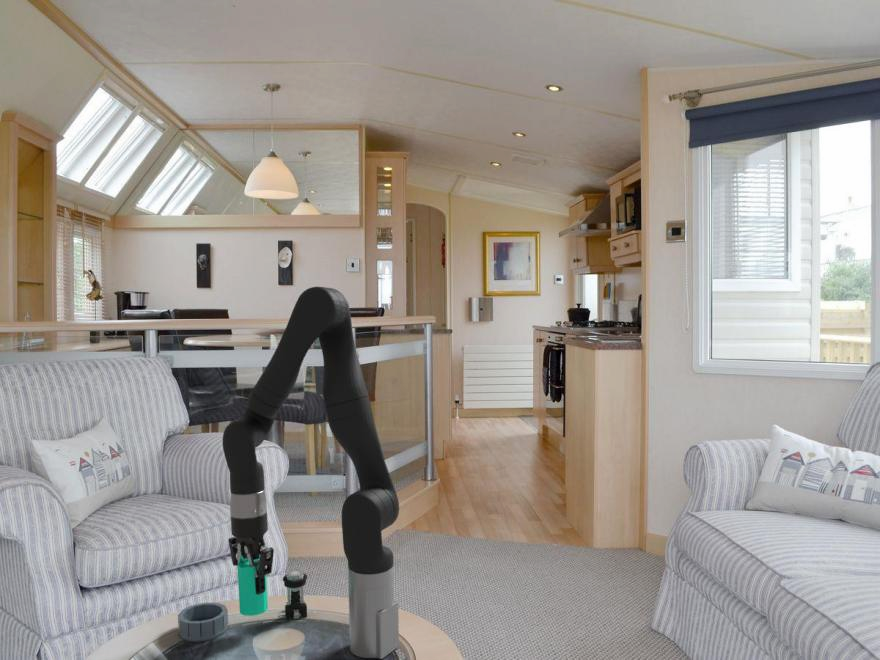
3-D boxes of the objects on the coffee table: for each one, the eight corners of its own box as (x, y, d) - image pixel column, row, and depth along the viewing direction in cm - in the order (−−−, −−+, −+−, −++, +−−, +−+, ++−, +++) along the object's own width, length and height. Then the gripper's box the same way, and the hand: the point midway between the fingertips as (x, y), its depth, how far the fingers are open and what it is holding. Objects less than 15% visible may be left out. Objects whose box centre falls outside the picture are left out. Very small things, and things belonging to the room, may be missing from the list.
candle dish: (237, 626, 165) (236, 609, 164) (200, 646, 156) (199, 627, 156) (206, 616, 170) (205, 598, 170) (169, 634, 162) (168, 616, 161)
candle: (253, 601, 165) (250, 548, 164) (274, 606, 162) (271, 552, 161) (233, 612, 160) (230, 557, 159) (254, 618, 157) (251, 561, 156)
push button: (278, 623, 166) (277, 579, 165) (277, 613, 171) (275, 570, 170) (309, 619, 168) (308, 576, 167) (306, 609, 173) (305, 567, 172)
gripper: (283, 513, 158) (287, 592, 159) (245, 501, 167) (249, 576, 168) (252, 522, 152) (256, 604, 153) (215, 509, 162) (219, 587, 163)
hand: (252, 589), depth 161 cm, fingers closed on candle, 4 cm apart
